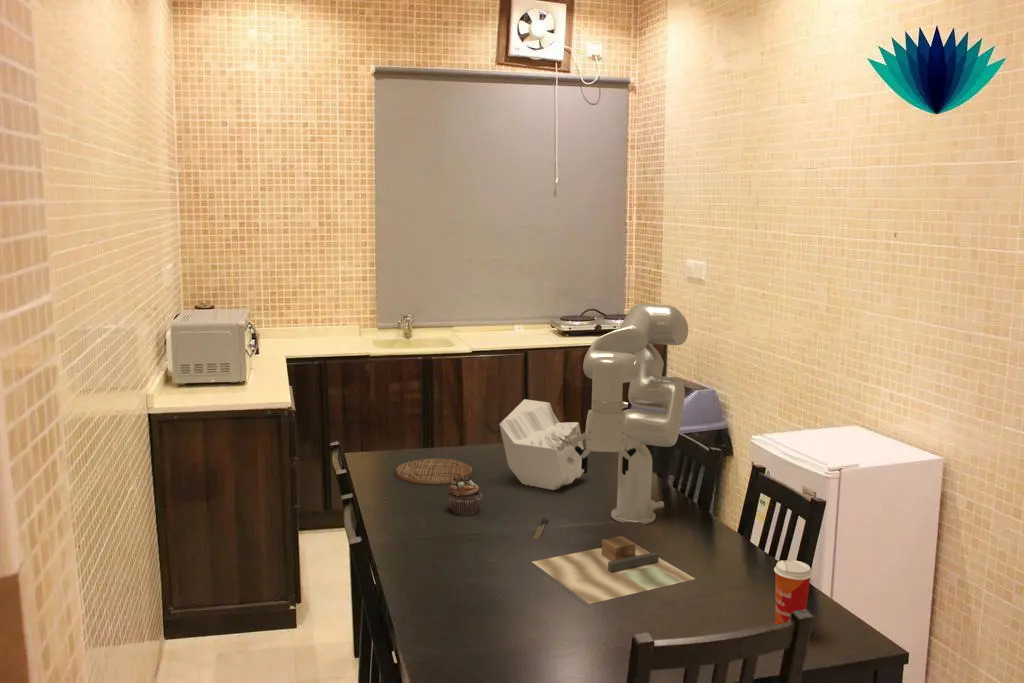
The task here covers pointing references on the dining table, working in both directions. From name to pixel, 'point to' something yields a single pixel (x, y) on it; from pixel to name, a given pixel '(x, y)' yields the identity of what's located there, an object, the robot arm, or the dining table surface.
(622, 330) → the robot arm
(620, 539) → the walnut block
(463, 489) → the cupcake
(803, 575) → the paper cup
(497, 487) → the dining table surface
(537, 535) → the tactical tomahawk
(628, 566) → the dark gray bar
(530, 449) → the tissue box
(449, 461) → the trivet
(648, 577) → the board
